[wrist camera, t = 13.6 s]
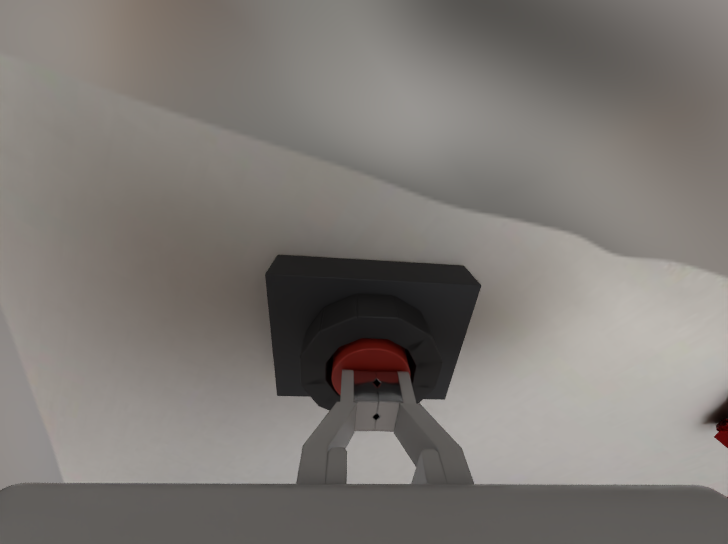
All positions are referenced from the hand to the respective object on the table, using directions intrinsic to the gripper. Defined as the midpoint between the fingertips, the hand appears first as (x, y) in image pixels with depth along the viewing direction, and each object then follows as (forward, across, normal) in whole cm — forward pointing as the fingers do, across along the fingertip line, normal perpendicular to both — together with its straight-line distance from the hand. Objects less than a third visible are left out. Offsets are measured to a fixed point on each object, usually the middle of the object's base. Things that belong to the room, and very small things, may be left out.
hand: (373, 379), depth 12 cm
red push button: (+2, 0, 0) cm, 2 cm away
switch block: (+4, 0, 0) cm, 4 cm away
